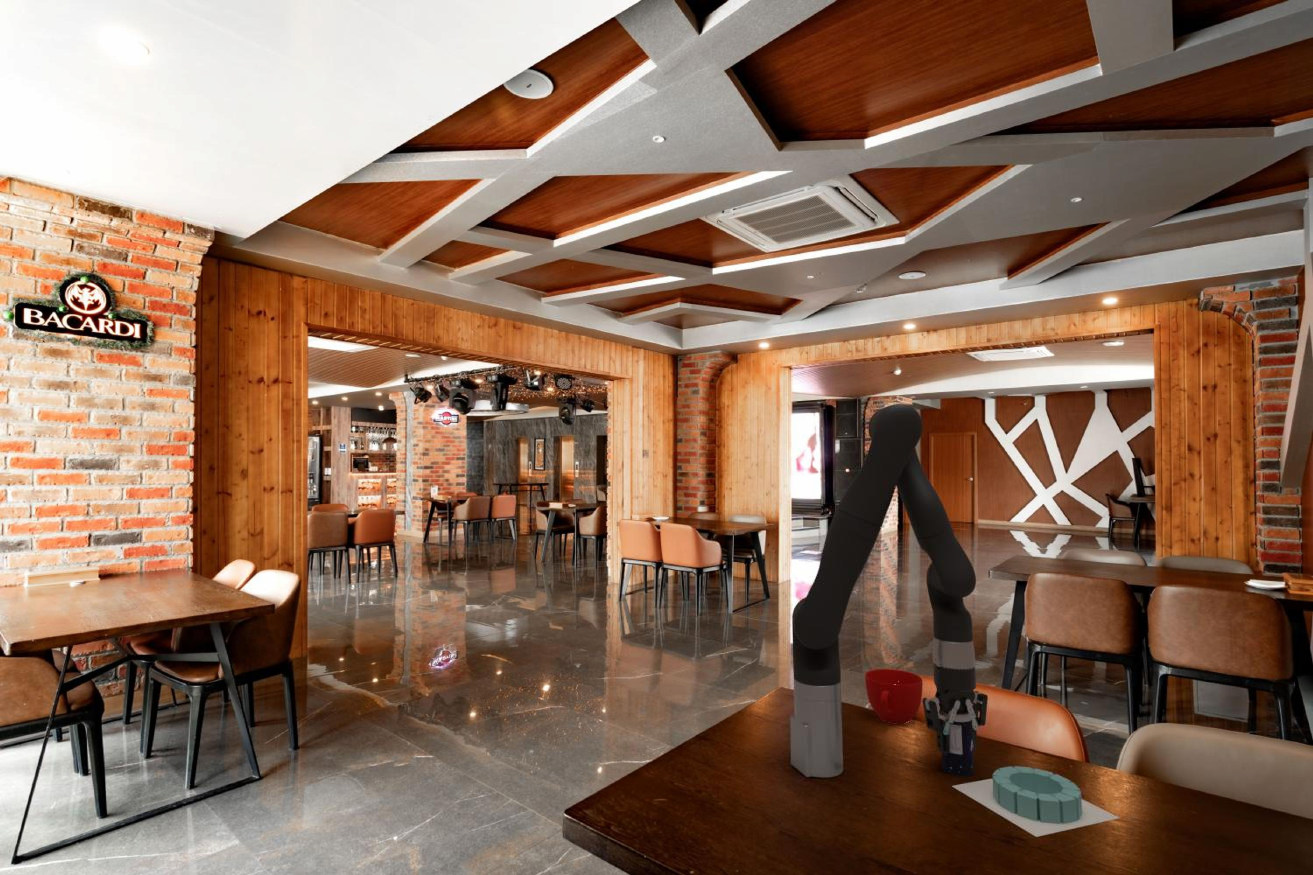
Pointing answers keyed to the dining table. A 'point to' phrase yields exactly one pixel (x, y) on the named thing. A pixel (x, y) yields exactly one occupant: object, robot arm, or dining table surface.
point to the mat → (984, 795)
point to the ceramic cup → (894, 694)
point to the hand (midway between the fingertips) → (957, 749)
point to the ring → (1037, 794)
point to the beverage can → (959, 747)
